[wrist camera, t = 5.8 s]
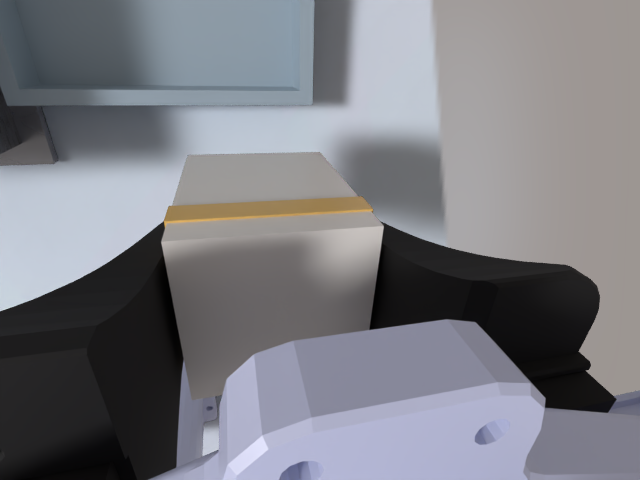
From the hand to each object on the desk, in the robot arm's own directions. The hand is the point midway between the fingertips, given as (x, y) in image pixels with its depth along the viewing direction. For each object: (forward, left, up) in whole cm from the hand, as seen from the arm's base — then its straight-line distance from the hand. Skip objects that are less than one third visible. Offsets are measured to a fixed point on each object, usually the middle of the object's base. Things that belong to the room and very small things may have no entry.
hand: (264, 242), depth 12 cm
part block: (0, 0, -2) cm, 2 cm away
